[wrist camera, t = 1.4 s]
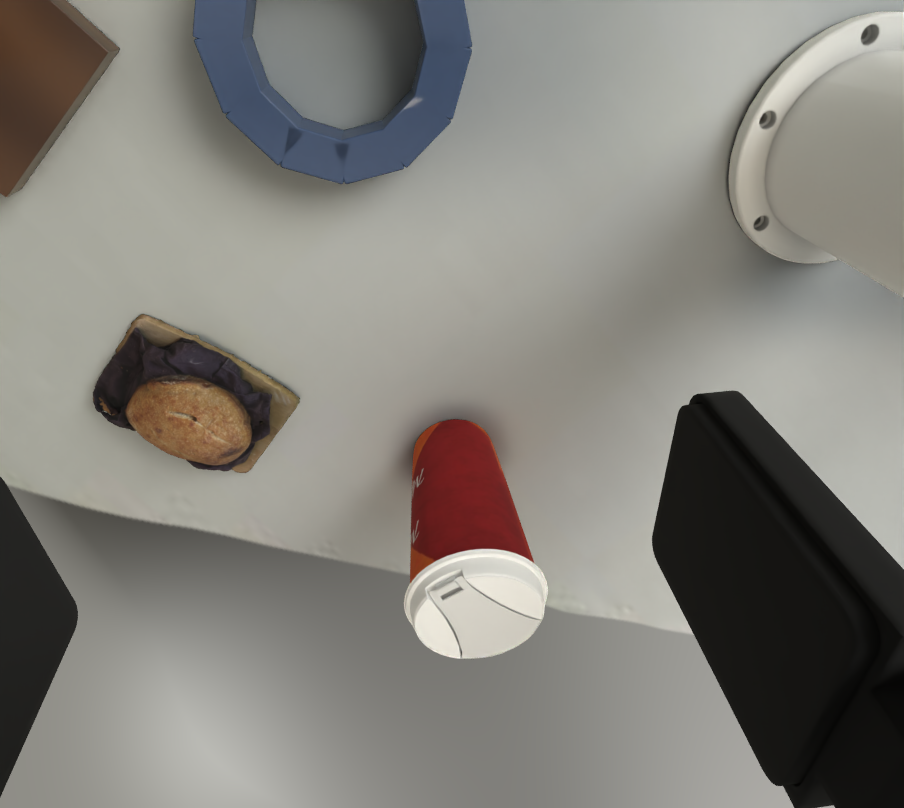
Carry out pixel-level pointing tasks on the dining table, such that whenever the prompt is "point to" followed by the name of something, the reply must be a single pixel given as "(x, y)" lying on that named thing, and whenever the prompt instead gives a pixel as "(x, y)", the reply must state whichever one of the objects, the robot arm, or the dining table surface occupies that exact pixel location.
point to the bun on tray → (191, 397)
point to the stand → (43, 79)
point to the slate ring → (318, 145)
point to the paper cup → (468, 549)
